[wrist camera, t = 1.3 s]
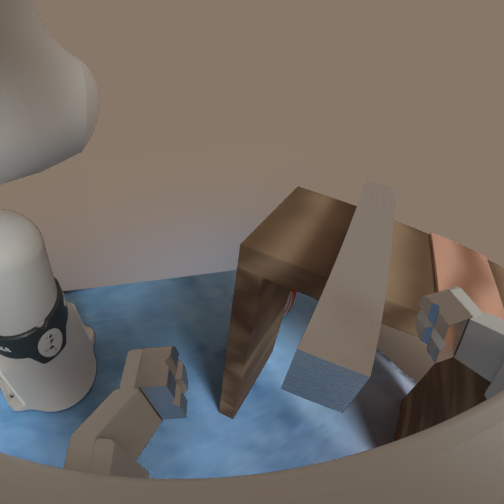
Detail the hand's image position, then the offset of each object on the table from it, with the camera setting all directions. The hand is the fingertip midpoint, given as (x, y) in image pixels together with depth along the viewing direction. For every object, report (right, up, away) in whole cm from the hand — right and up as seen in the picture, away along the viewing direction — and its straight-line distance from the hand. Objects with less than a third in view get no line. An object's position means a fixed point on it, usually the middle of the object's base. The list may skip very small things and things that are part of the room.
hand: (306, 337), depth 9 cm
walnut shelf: (+8, -19, +28) cm, 35 cm away
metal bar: (+6, +1, +12) cm, 13 cm away
